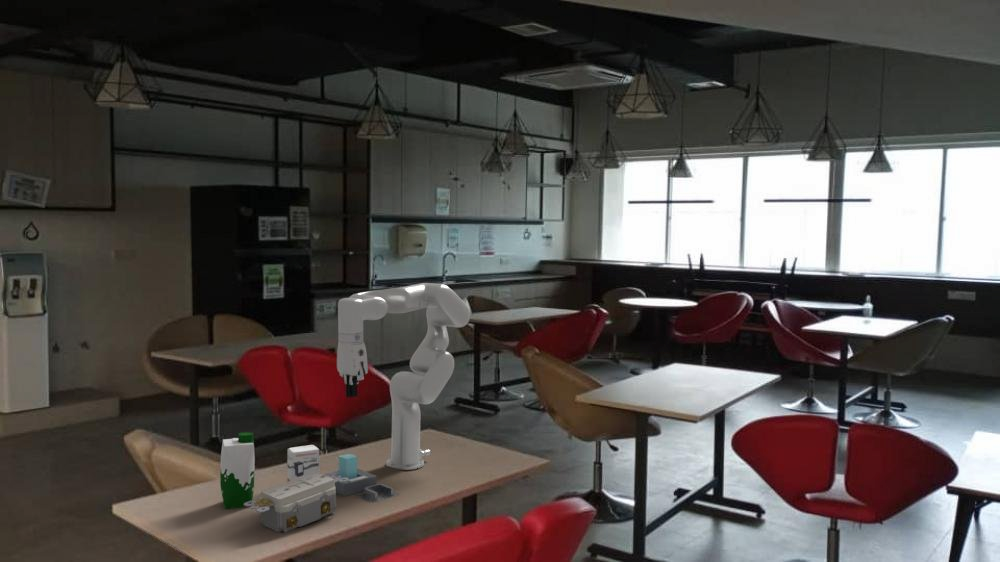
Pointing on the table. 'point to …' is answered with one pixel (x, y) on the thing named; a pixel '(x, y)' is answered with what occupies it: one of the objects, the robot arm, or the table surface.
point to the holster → (377, 493)
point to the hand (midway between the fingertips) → (351, 396)
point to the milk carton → (237, 470)
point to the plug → (348, 466)
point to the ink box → (302, 461)
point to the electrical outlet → (297, 501)
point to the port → (355, 483)
